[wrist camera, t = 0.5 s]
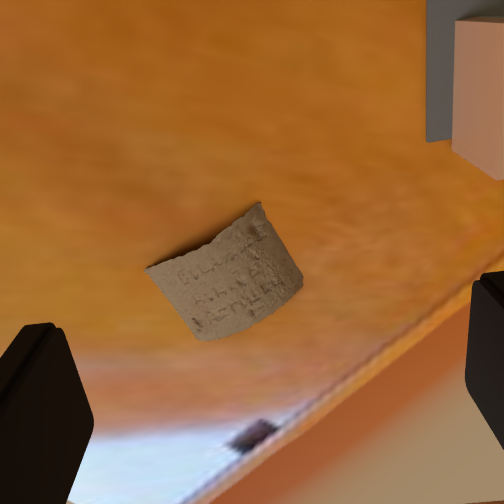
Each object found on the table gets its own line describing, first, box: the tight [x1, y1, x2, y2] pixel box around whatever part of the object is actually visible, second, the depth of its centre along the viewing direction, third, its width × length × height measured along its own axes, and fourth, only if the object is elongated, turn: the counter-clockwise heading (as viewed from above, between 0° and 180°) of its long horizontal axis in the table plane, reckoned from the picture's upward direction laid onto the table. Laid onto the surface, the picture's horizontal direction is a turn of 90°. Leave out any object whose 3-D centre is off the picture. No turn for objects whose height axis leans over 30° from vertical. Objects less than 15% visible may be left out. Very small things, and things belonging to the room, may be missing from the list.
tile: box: [452, 16, 504, 180], centre depth 35 cm, size 10×2×8 cm, turn 9°
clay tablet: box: [144, 203, 303, 341], centre depth 46 cm, size 14×10×3 cm
